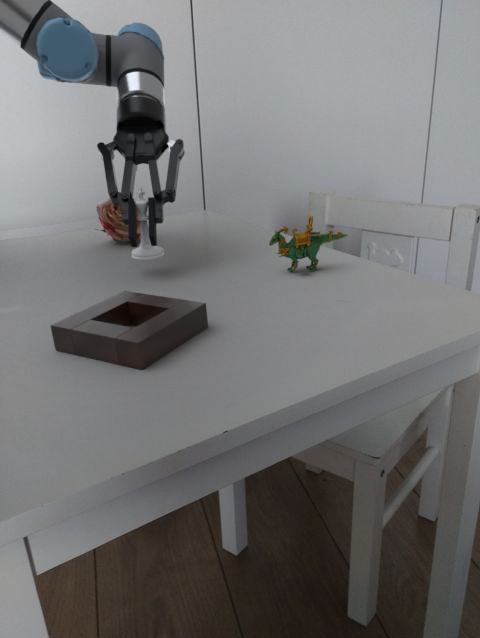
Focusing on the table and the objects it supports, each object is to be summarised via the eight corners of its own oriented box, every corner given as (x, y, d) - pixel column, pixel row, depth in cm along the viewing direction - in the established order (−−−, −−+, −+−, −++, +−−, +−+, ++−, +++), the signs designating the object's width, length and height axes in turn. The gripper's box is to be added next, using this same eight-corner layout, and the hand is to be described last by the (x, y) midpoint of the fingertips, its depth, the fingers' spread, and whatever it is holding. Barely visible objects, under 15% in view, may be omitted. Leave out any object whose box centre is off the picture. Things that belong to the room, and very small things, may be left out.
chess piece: (125, 258, 85) (115, 190, 81) (143, 250, 90) (134, 184, 85) (153, 260, 84) (145, 191, 80) (170, 252, 88) (163, 185, 84)
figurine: (268, 270, 87) (266, 216, 83) (344, 263, 88) (345, 209, 85) (272, 276, 84) (270, 220, 80) (350, 268, 86) (351, 213, 82)
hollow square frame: (55, 350, 63) (49, 325, 62) (128, 312, 73) (124, 290, 71) (142, 370, 58) (138, 343, 56) (208, 326, 67) (206, 302, 66)
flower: (83, 233, 108) (87, 201, 102) (117, 213, 113) (123, 183, 107) (120, 264, 106) (127, 234, 100) (153, 243, 112) (161, 214, 106)
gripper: (191, 126, 94) (197, 252, 86) (97, 130, 93) (95, 257, 85) (187, 91, 87) (193, 224, 79) (86, 95, 86) (82, 230, 78)
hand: (142, 241), depth 82 cm, fingers closed on chess piece, 2 cm apart
